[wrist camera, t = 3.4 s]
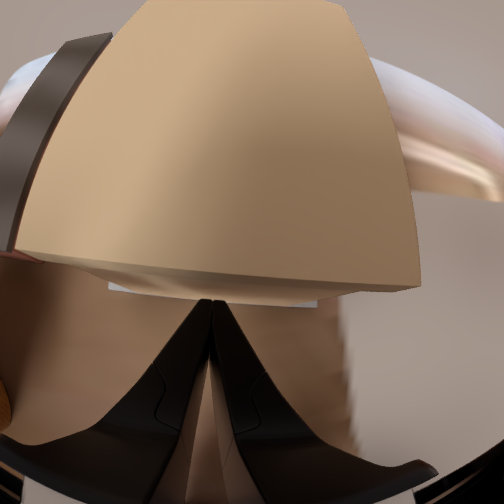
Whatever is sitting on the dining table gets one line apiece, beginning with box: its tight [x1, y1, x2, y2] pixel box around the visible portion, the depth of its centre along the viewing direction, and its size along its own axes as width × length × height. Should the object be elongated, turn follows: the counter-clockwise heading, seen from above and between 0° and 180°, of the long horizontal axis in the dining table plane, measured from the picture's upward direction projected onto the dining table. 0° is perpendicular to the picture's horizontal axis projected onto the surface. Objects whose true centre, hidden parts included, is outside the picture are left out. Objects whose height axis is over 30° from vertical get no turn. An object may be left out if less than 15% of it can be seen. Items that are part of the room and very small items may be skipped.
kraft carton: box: [15, 0, 421, 306], centre depth 12 cm, size 14×9×11 cm, turn 176°
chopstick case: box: [0, 32, 113, 264], centre depth 15 cm, size 20×5×5 cm, turn 176°
